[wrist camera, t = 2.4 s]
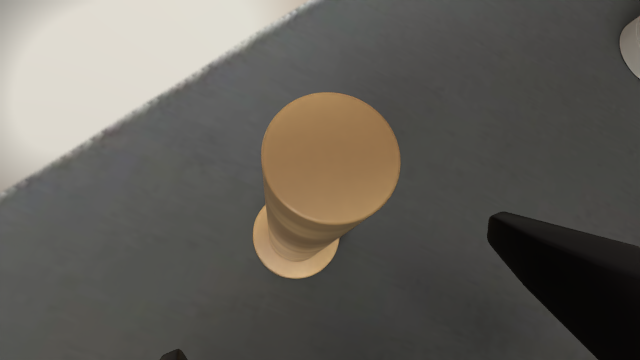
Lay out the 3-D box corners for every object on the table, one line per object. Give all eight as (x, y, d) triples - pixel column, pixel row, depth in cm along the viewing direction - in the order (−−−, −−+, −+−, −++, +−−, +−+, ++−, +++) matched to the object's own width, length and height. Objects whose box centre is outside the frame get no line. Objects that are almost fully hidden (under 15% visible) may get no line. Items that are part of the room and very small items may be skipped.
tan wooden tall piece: (349, 228, 20) (476, 136, 7) (304, 296, 19) (364, 320, 6) (286, 182, 20) (307, 22, 8) (237, 246, 19) (166, 173, 6)
